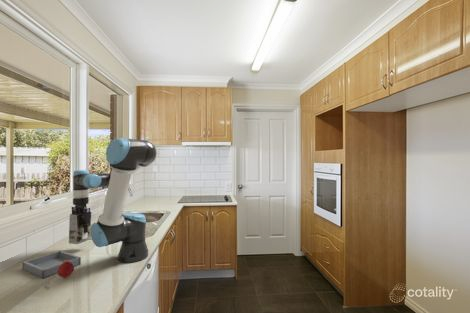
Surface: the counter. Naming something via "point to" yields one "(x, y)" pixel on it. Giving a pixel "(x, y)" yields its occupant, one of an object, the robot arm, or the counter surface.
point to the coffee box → (77, 229)
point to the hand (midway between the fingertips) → (80, 237)
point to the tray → (49, 263)
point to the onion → (65, 269)
